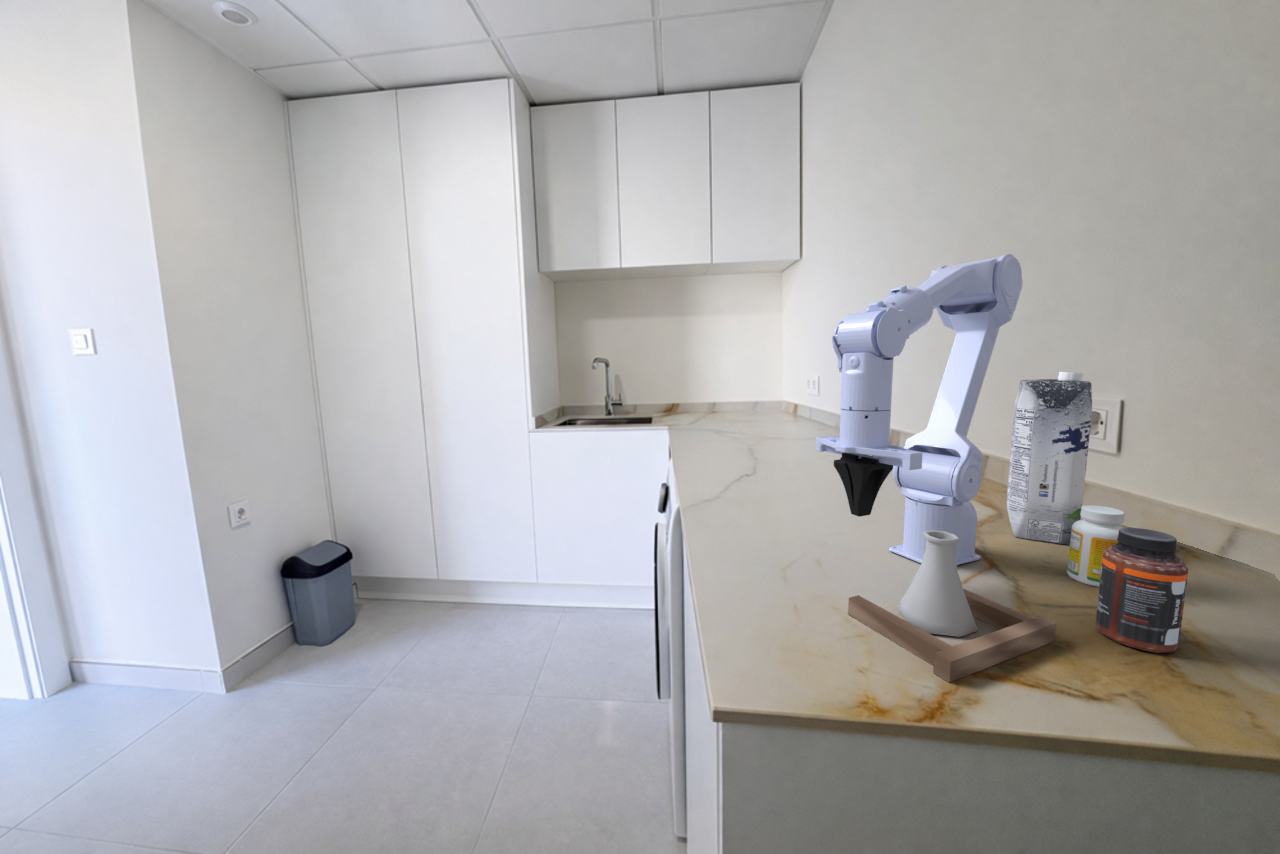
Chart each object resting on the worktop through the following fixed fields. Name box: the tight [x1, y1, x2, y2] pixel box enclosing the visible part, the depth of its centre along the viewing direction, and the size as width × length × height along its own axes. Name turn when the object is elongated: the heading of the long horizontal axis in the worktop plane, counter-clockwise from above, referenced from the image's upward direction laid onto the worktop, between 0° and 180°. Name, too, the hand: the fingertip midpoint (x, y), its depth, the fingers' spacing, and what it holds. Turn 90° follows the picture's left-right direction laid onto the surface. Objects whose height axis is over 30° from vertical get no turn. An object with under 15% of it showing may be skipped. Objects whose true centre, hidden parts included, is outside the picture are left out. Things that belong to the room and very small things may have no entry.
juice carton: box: [1006, 371, 1093, 546], centre depth 77 cm, size 9×10×27 cm
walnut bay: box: [847, 588, 1057, 683], centre depth 51 cm, size 16×12×2 cm
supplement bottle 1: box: [1066, 504, 1126, 588], centre depth 61 cm, size 5×5×10 cm
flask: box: [897, 530, 978, 638], centre depth 52 cm, size 7×7×10 cm
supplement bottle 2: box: [1095, 527, 1189, 654], centre depth 48 cm, size 6×6×11 cm
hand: (860, 514), depth 60 cm, fingers closed
